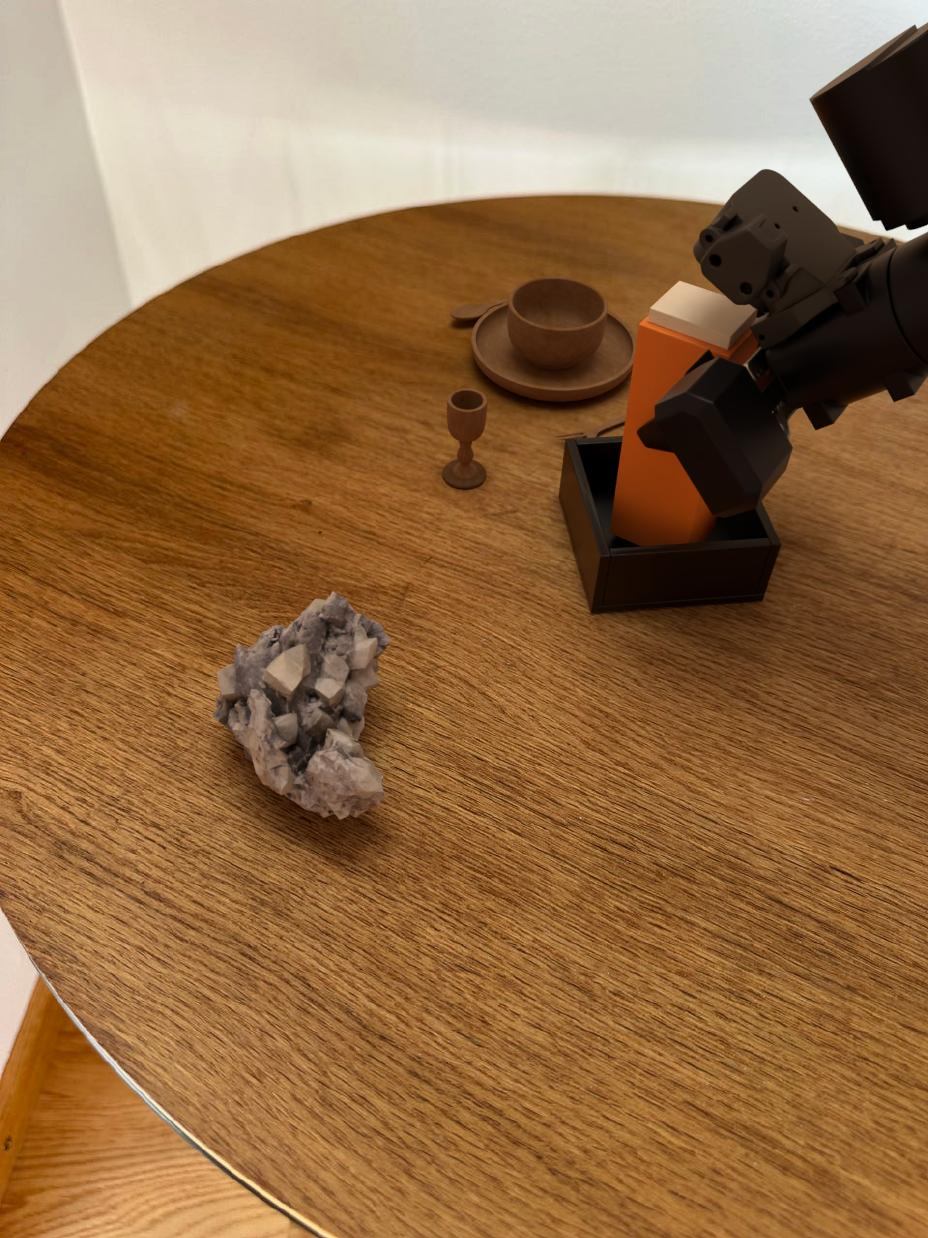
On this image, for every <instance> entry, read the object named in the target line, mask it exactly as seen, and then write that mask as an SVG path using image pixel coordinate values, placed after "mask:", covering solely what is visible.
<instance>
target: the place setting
mask: <svg viewBox="0 0 928 1238" xmlns="http://www.w3.org/2000/svg"><path fill="white" fill-rule="evenodd" d="M449 315H450V316H451V318H453V319H454V320H457V321H473V320H477V319H478V320H477V321H476V323H475V324H474V326H473V329H472V332H471V335H470V343H471V344H470V345H471V346H470V347H471V352H472V355H473V358H474V361H475V363H476V364H477V366H478V368H479V369H480V370H481V371H482V373H483V374H484V375H485V376H486V377H487V378H488V379H490V381H492V382H493V383H494V384H496V385H497V386H499V387H501V388H503V389H504V390H506V391H509V392H510V393H513V394H516V395H519V396H522V397H524V398H528V399H532V400H537V401H543V402H544V401H545V402H554V403H555V402H559V403H560V402H562V403H565V402H575V401H581V400H582V401H583V400H587V399H591V398H595V397H597V396H600V395H603V394H605V393H607V392H609V391H611V390H612V389H614V388H616V387H617V386H619V385H620V384H621V383H622V382H624V380H626V378H627V377H628V376H629V374H630V373H632V370H633V363H634V356H635V349H636V342H637V337H636V335H635V333H634V331H633V329H631V327H630V326H629V325H628V324H627V323H626V322H625V321H624V320H623V319H622V318H621V317H620V316H618V315H617V314H615V313H613V312H612V311H610V310H609V302H608V300H607V298H606V296H605V295H604V294H603V293H602V292H601V291H600V290H599V289H597V288H596V287H595V286H594V285H591V284H589V283H587V282H585V281H582V280H579V279H577V278H573V277H572V278H571V277H566V276H541V277H536V278H532V279H529V280H526V281H524V282H522V283H520V284H519V285H517V286H516V287H514V288H513V290H512V291H511V292H510V293H509V297H506V298H502V299H499V300H495V301H491V302H487V303H485V302H484V303H467V304H466V303H465V304H462V305H458V306H456V307H455V308H454V309H452V311H451V312H450V314H449ZM446 399H447V400H446V423H447V430H448V432H449V434H450V436H451V437H452V438H453V439H455V441H458V445H459V448H458V449H457V452H456V459H454V460H451V461H450V462H448V463H447V464H446V465H445V466H444V467H443V470H442V477H443V480H444V481H445V482H446V483H447V484H448V485H449V486H452V487H453V488H457V489H461V490H468V489H473V488H476V487H479V486H480V485H482V484H483V483H484V482H485V480H486V478H487V469H486V468H485V466H484V465H483V464H481V463H480V462H479V461H477V460H474V457H475V455H474V451H473V449H472V445H473V442H476V441H477V440H478V439H480V437H481V436H482V435H483V434H484V430H485V428H486V424H487V423H486V422H487V415H488V413H487V412H488V398H487V396H486V394H484V392H482V391H481V390H479V389H476V388H472V387H461V388H457V389H455V390H452V391H451V392H450V393H449V394H448V395H447V398H446ZM625 420H626V414H625V415H622V416H620V417H617V418H615V419H613V420H609V421H608V422H605V423H603V424H600V425H598V426H596V427H594V428H593V429H588V430H587V429H584V430H580V431H576V432H571V433H564V434H557V435H555V436H554V438H558V439H557V441H561V444H565V440H566V439H576V438H594V437H598V435H599V434H600V433H601V432H603V431H605V430H608V429H611V428H614V427H616V426H618V425H622V424H625Z"/></svg>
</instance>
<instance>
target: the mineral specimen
mask: <svg viewBox="0 0 928 1238" xmlns="http://www.w3.org/2000/svg"><path fill="white" fill-rule="evenodd" d="M392 641H393V640H392V639H391V637H390V635H388V633H386V631H385V629H384V627H383V626H382V624H380V623H379V622H377V621H376V620H374V619H370V618H369V617H368V616H366V615H364V614H363V613H358V612H357V611H356V610H355V609H354V608H353V607H352V605H351V604H350V603H349V599H348V598H345V597H344V596H341V595H340V594H338V593H337V592H335V591H334V590H332V591H331V593H330V595H329V596H327V598H326V599H322V598H315V599H313V600H312V602H311V603H310V604H309V605H308V606H307V607H306V608H305V609H304V610H302V611H301V613H300V615H299V616H297V618H296V619H294V620H293V621H292V622H291V623H290V624H289V625H288V626H284V625H281V624H276V625H275V624H274V625H272V626H270V628H267V630H265V631H262V632H261V633H260V635H259V638H258V640H257V642H255V643H254V644H253V645H252V646H250V647H248V648H246V647H245V646H243V645H241V644H240V643H237V645H236V646H235V648H234V652H233V663H231V664H228V665H226V666H224V667H222V668H221V669H219V670H217V671H216V676H217V685H218V689H219V692H220V693H219V695H218V696H217V697H216V698H215V703H214V706H215V707H216V709H214V710H213V711H212V712H211V713H210V716H212V717H213V718H214V719H215V720H216V722H218V723H220V724H221V725H223V726H224V727H225V728H226V729H227V730H228V731H230V732H232V733H233V735H234V736H235V737H234V739H235V740H236V741H237V742H238V743H239V744H241V745H242V748H243V751H244V752H243V753H244V755H245V759H246V760H247V761H250V762H252V763H253V767H254V770H255V773H256V775H257V777H258V779H259V780H260V782H261V783H262V785H264V786H269V788H270V789H271V790H272V791H273V792H275V793H277V794H278V795H280V796H283V795H284V796H285V797H286V798H288V799H289V800H290V801H292V802H294V803H296V804H297V805H299V806H300V807H301V808H302V809H304V810H306V811H309V812H315V813H319V815H320V817H322V818H323V819H325V818H327V817H330V816H332V815H335V816H336V817H337V818H338V820H342V819H344V818H347V817H349V816H350V817H353V818H358V817H359V816H361V815H363V814H364V813H366V812H367V811H368V810H371V809H373V808H376V807H379V806H380V805H381V803H382V801H383V800H384V797H386V794H387V793H386V792H385V791H384V788H383V780H384V776H383V775H382V774H381V772H380V771H379V770H378V768H377V767H376V766H375V764H374V763H373V762H372V761H371V759H369V758H368V757H367V756H365V755H364V749H363V747H362V745H361V743H360V742H359V739H360V735H361V733H362V732H363V731H364V729H365V710H366V709H365V708H366V704H368V703H367V702H368V701H369V700H368V696H369V695H368V692H370V691H371V690H374V689H375V688H378V687H379V685H380V680H379V677H378V676H377V673H379V671H380V668H379V663H378V659H379V657H380V656H381V655H382V654H383V653H384V652H385V650H386V649H387V648H388V646H389V645H390V643H391V642H392Z"/></svg>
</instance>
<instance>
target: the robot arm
mask: <svg viewBox="0 0 928 1238" xmlns="http://www.w3.org/2000/svg"><path fill="white" fill-rule="evenodd" d="M808 100H809V102H810V104H811V106H812V108H813V110H814V112H815V114H816V115H817V118H818V119H819V121H820V123H821V125H822V127H823V129H824V130H825V132H826V135H827V137H828V138H829V140H830V142H831V144H832V146H833V148H834V150H835V151H836V154H837V156H838V157H839V159H840V161H841V163H842V165H843V167H844V169H845V170H846V173H847V174H848V177H849V178H850V180H851V182H852V184H853V186H854V188H855V189H856V191H857V193H858V195H859V198H860V199H861V201H862V203H863V205H864V207H865V208H866V211H867V213H868V214H869V216H870V218H871V220H872V222H881V224H882V226H883V228H884V230H885V232H889V231H892V230H895V229H898V228H900V227H903V226H905V228H906V230H907V231H914V230H918V229H921V228H924V227H926V226H928V22H925V24H922V25H921V26H919V27H917V25H916V24H913V25H911V26H910V27H909V28H906V29H905V30H904V31H902V32H901V33H899V34H897V35H896V36H895V37H893V38H891V39H890V40H889V41H886V43H884V44H882V45H881V46H879V47H878V48H877V49H875V50H874V51H872V52H870V53H869V54H867V55H866V56H865V57H863V58H861V60H859V61H857V62H856V63H854V64H853V65H851V66H850V67H849V68H848V69H846V70H845V71H844V72H842V73H840V74H839V75H838V76H836V77H834V79H832V80H831V81H830V82H828V83H827V84H826V85H824V86H823V87H821V88H820V89H818V90H817V91H816V92H815V93H813V95H812V96H811V97H809V98H808ZM692 247H693V248H692V252H693V255H694V256H693V257H694V258H695V261H697V263H698V264H699V266H700V271H701V275H702V276H703V277H704V278H705V279H706V280H707V281H708V282H710V284H711V285H712V286H714V287H715V288H716V289H717V290H718V291H719V292H721V293H722V295H723V296H726V297H727V298H728V299H729V300H730V301H732V302H733V303H734V304H736V305H748V304H750V305H751V306H752V307H753V308H755V309H757V310H758V312H757V316H756V318H757V319H756V320H755V321H754V322H753V323H752V325H751V326H750V327H749V328H750V329H751V331H752V333H753V335H754V336H755V338H756V340H757V342H758V347H757V350H756V351H755V352H754V353H753V354H752V355H751V356H750V357H749V358H748V360H747V361H746V362H745V363H744V364H743V365H741V364H738V363H735V362H733V361H730V360H727V359H725V358H722V357H717V358H714V356H713V354H712V352H711V351H710V349H708V350H707V351H706V352H705V353H704V354H703V355H702V356H701V357H700V358H699V359H698V360H697V361H696V362H695V363H694V364H693V365H692V366H691V367H690V368H689V369H688V370H687V371H686V373H685V374H684V377H683V378H681V379H680V380H679V381H678V382H677V383H676V384H675V385H674V386H673V387H672V388H671V389H670V390H669V391H668V392H667V393H666V394H665V395H664V396H663V397H662V398H661V399H660V400H659V401H658V402H657V403H656V404H655V406H654V407H655V417H653V418H652V419H651V420H649V421H648V422H647V423H645V424H644V425H642V426H641V427H640V428H639V429H638V430H637V435H638V437H639V438H640V440H641V442H642V443H643V445H644V446H645V447H647V448H650V449H655V450H660V451H665V452H670V453H674V454H675V455H676V457H677V459H678V460H679V462H680V463H681V465H682V467H683V468H684V470H685V471H686V473H687V475H688V476H689V478H690V480H691V481H692V483H693V484H694V486H695V488H696V489H697V491H698V492H699V494H700V496H701V497H702V499H703V500H704V502H705V504H706V505H707V507H708V509H709V510H710V512H711V513H712V515H715V516H718V517H722V518H726V517H729V516H732V515H735V514H739V513H742V512H745V511H748V510H752V509H755V508H756V507H757V506H758V505H759V504H760V502H761V501H762V502H763V500H764V499H765V497H766V496H767V495H768V493H769V492H770V491H771V490H772V488H773V487H774V486H775V484H776V483H777V482H779V480H780V478H781V477H782V476H783V475H784V473H785V472H786V470H787V468H788V465H789V462H790V458H791V456H792V452H793V450H794V446H793V445H792V443H791V442H790V439H791V427H790V423H789V421H790V419H791V418H792V416H793V415H794V414H795V413H796V412H797V411H798V410H800V409H802V410H803V411H804V414H805V415H806V417H807V419H808V420H809V423H810V424H811V426H812V427H813V429H814V431H819V430H820V429H823V428H826V427H829V426H832V425H835V423H836V422H837V421H838V419H839V418H840V417H841V415H842V414H843V413H844V411H845V410H846V409H847V407H849V405H850V404H853V403H856V402H858V401H861V400H864V399H867V398H869V397H872V396H875V395H877V394H880V393H883V392H885V391H887V393H888V394H889V396H890V398H891V400H892V402H893V403H896V402H900V401H902V400H905V399H907V398H910V397H913V396H915V395H916V394H917V392H918V391H919V390H920V388H921V387H922V386H923V384H924V383H925V381H926V380H927V378H928V231H926V232H925V233H922V234H920V235H918V236H916V237H914V238H912V239H910V240H907V241H906V242H903V243H902V244H900V245H898V244H897V242H896V241H895V238H894V237H891V238H889V239H887V240H885V241H884V239H883V237H880V236H879V237H876V238H875V239H872V240H871V241H869V242H867V243H865V241H864V239H862V238H859V237H856V236H853V235H850V234H846V233H843V232H840V230H839V229H838V226H837V225H836V224H835V222H834V221H833V220H832V219H831V218H830V217H829V216H828V215H827V214H826V213H825V212H824V211H823V210H821V208H820V207H818V206H817V205H816V204H815V203H814V202H812V201H811V199H809V198H808V197H807V196H806V195H805V194H804V193H803V192H801V191H800V190H799V189H798V188H797V187H796V186H795V185H794V184H793V183H791V182H790V181H789V180H788V179H787V178H786V176H784V175H782V174H781V173H780V172H778V171H776V170H773V169H769V168H763V169H760V170H759V171H758V172H756V174H754V175H753V176H752V177H750V179H748V180H747V181H746V182H745V183H743V185H741V186H740V187H739V188H738V189H737V190H736V191H734V192H733V193H732V195H731V196H730V197H729V199H728V200H727V201H726V202H725V203H724V205H723V206H722V208H721V209H720V210H719V211H718V213H717V214H716V215H715V217H714V218H713V219H712V221H711V222H710V223H709V224H708V225H707V226H706V227H705V228H703V229H702V230H701V231H700V233H699V236H698V239H697V240H696V241H695V243H694V244H693V246H692Z"/></svg>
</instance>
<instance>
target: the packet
mask: <svg viewBox="0 0 928 1238" xmlns="http://www.w3.org/2000/svg"><path fill="white" fill-rule="evenodd" d="M757 312H758V310H757V309H755V308H753V307H752V306H751V305H750V304H748V305H736V304H734V303H733V302H732V301H730V300H729V299H728V298H727V297H726V296H725V295H724V294H720V293H718V292H715V291H711V290H708V289H705V288H703V287H700V286H696V285H694V284H691V283H689V282H685V281H683V280H678V281H677V282H676V283H675V284H674V285H673V286H672V287H671V288H670V289H668V291H666V293H664V294H663V295H662V296H661V297H660V298H659V299H658V300H657V301H656V302H655V303H654V304H653V305H652V306H650V307H649V312H648V315H647V316H646V317H644V319H642V321H640V323H639V324H638V328H637V329H638V330H637V335H636V336H637V337H636V340H637V342H636V349H635V356H634V363H633V368H632V370H631V377H630V378H631V379H630V386H629V391H628V399H627V407H626V412H625V415H626V420H625V422H624V428H623V433H622V436H623V441H622V448H621V455H620V462H619V469H618V476H617V483H616V490H615V497H614V504H613V511H612V518H611V525H610V533H612V534H614V535H616V536H618V537H620V538H623V539H625V540H627V541H629V542H632V543H634V544H636V545H638V546H640V547H641V546H656V545H671V544H685V543H700V542H704V540H705V539H706V538H707V537H708V535H709V534H710V533H711V532H712V530H713V529H714V527H715V523H716V518H717V516H715V515H712V513H711V512H710V510H709V509H708V507H707V505H706V504H705V502H704V500H703V499H702V497H701V496H700V494H699V492H698V491H697V489H696V488H695V486H694V484H693V483H692V481H691V480H690V478H689V476H688V475H687V473H686V471H685V470H684V468H683V467H682V465H681V463H680V462H679V460H678V459H677V457H676V455H675V454H674V453H670V452H665V451H660V450H655V449H650V448H647V447H645V446H644V445H643V443H642V442H641V440H640V438H639V437H638V435H637V430H638V429H639V428H640V427H641V426H642V425H644V424H645V423H647V422H648V421H649V420H651V419H652V418H653V417H655V407H654V406H655V404H656V403H657V402H658V401H659V400H660V399H661V398H662V397H663V396H664V395H665V394H666V393H667V392H668V391H669V390H670V389H671V388H672V387H673V386H674V385H675V384H676V383H677V382H678V381H679V380H680V379H681V378H683V377H684V374H685V373H686V371H687V370H688V369H689V368H690V367H691V366H692V365H693V364H694V363H695V362H696V361H697V360H698V359H699V358H700V357H701V356H702V355H703V354H704V353H705V352H706V351H707V350H708V349H710V351H711V352H712V354H713V356H714V358H717V357H722V358H725V359H727V360H730V361H733V362H735V363H738V364H741V365H743V364H744V363H745V362H746V361H747V360H748V358H749V357H750V356H751V355H752V354H753V353H754V352H755V351H756V350H757V347H758V342H757V340H756V338H755V336H754V335H753V333H752V331H751V329H750V328H749V327H750V326H751V325H752V323H753V322H754V321H755V320H756V319H757V318H756V316H757Z"/></svg>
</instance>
